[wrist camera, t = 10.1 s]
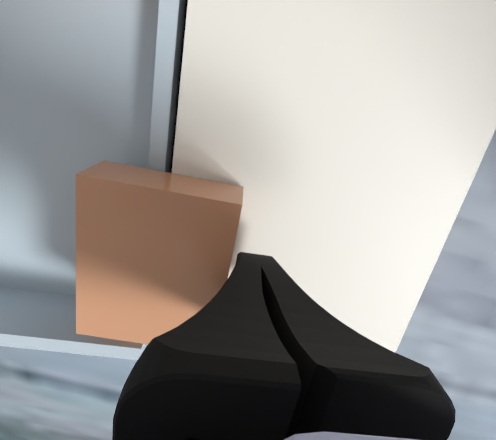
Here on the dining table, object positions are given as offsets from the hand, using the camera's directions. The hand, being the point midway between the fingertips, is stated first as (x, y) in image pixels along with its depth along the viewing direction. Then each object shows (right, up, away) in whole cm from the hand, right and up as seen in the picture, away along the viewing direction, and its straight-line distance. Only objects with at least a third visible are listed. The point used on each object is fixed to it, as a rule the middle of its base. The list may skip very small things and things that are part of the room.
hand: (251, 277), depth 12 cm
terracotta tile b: (-3, +1, +1) cm, 4 cm away
